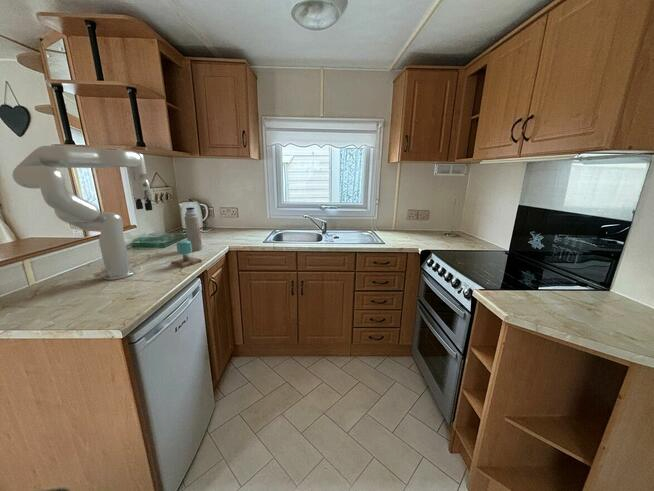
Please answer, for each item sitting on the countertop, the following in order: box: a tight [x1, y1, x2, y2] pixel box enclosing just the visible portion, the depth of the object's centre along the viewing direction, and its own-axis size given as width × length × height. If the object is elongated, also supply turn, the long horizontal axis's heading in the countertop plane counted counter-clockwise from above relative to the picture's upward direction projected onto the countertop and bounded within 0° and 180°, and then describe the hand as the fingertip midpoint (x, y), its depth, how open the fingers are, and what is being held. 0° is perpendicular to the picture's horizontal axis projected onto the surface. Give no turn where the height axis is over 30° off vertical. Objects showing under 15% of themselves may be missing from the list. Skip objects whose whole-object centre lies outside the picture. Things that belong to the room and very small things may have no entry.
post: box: [181, 253, 190, 261], centre depth 149 cm, size 3×3×10 cm
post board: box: [170, 256, 202, 269], centre depth 150 cm, size 11×11×2 cm
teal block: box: [175, 240, 193, 255], centre depth 148 cm, size 7×7×6 cm
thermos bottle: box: [184, 207, 203, 252], centre depth 173 cm, size 8×8×28 cm
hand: (144, 209), depth 145 cm, fingers open, 9 cm apart
